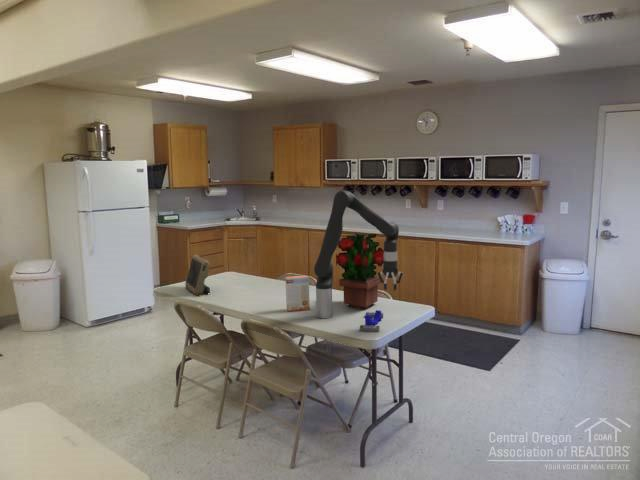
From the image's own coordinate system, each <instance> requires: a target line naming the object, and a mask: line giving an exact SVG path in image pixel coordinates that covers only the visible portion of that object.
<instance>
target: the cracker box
mask: <svg viewBox="0 0 640 480" xmlns="http://www.w3.org/2000/svg"><path fill="white" fill-rule="evenodd" d="M284 280H285V297H286V299H285V301H286V311H287V312H288V313H289V312H298V311H310V310H311V309H310V308H311V304H310V298H311V297H310V277H309V276H308V275H294V276H293V275H292V276H285V279H284Z"/></svg>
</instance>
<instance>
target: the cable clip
mask: <svg viewBox="0 0 640 480" xmlns="http://www.w3.org/2000/svg"><path fill="white" fill-rule="evenodd" d="M374 313H375V316H374V318H371V315H364V318H365V322H364V325H370V326H378V324H379V323H380V322H382V318H381V313H382V310H378V309H376V310H375V311H374Z"/></svg>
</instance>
